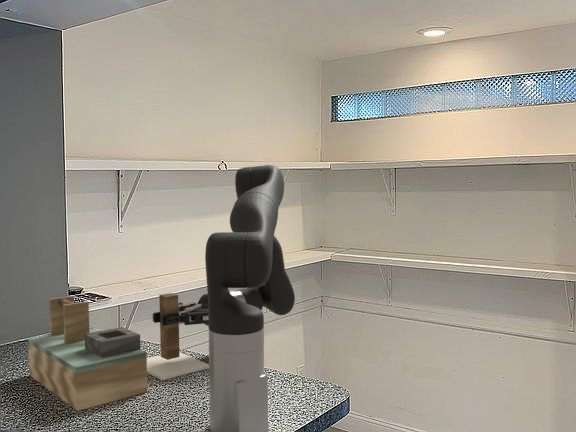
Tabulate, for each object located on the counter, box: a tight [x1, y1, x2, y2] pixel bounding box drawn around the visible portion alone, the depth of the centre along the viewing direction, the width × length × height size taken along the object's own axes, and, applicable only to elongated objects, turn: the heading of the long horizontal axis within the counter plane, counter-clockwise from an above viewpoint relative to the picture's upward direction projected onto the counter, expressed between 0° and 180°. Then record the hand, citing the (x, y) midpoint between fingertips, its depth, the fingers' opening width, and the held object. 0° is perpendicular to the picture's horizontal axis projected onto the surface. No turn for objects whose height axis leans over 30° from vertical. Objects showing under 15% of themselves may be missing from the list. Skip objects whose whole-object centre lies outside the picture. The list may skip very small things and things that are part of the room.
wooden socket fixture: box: [27, 295, 148, 412], centre depth 122 cm, size 26×14×16 cm, turn 41°
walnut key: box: [158, 292, 180, 360], centre depth 132 cm, size 3×3×14 cm
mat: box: [147, 351, 209, 381], centre depth 133 cm, size 14×12×1 cm
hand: (157, 319), depth 130 cm, fingers closed on walnut key, 3 cm apart
